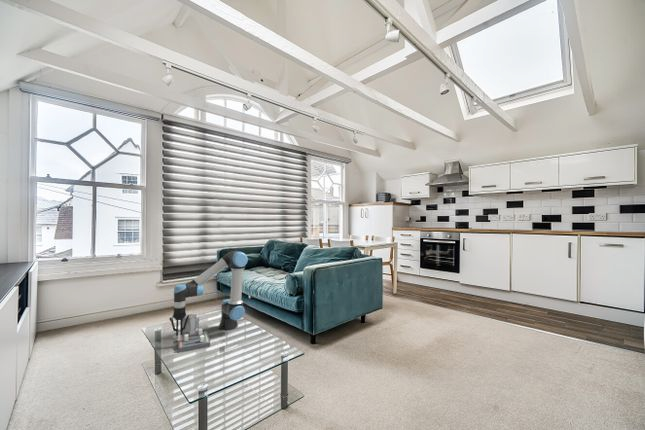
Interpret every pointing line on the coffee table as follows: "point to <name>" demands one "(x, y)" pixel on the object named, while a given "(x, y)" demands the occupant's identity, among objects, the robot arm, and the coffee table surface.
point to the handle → (200, 331)
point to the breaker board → (193, 342)
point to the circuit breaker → (190, 324)
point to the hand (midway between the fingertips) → (179, 339)
